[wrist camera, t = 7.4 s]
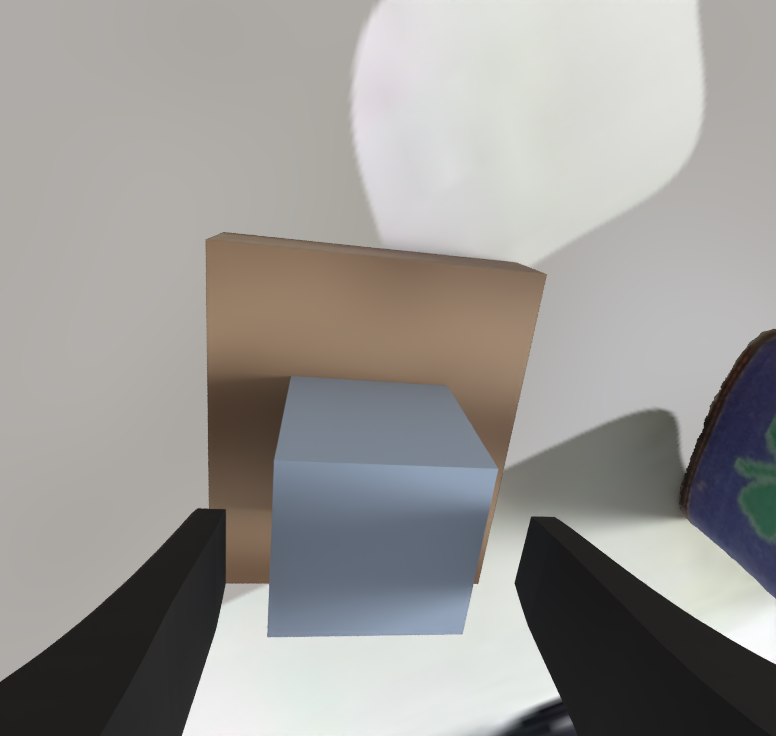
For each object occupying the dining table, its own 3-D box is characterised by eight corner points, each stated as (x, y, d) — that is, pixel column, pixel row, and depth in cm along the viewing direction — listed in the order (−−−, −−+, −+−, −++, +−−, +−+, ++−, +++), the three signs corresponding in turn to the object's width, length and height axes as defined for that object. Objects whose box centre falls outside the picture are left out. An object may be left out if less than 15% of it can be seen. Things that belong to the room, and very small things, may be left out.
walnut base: (461, 540, 21) (478, 583, 19) (223, 536, 20) (209, 583, 17) (516, 262, 17) (546, 274, 15) (223, 232, 16) (205, 239, 13)
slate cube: (426, 514, 17) (462, 634, 13) (284, 511, 17) (267, 637, 12) (447, 385, 16) (498, 468, 11) (291, 376, 15) (274, 460, 10)
